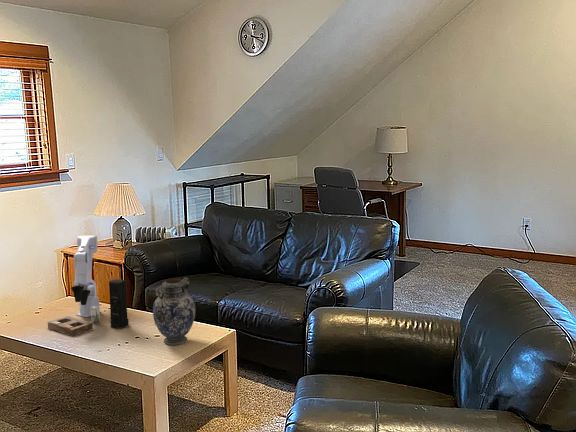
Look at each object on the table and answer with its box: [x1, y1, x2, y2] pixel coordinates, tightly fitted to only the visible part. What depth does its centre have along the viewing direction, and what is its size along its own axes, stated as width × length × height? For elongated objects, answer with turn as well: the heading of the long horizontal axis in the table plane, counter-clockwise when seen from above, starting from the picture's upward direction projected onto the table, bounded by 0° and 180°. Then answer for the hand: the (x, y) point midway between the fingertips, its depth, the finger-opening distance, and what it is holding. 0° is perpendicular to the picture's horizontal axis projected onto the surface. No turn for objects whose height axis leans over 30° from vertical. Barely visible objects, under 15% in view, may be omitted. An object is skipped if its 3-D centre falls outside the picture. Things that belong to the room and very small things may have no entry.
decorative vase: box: [152, 276, 196, 346], centre depth 252 cm, size 21×19×28 cm
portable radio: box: [108, 276, 129, 330], centre depth 273 cm, size 8×6×25 cm
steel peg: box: [90, 306, 101, 325], centre depth 280 cm, size 4×4×8 cm
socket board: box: [47, 315, 94, 337], centre depth 272 cm, size 11×20×3 cm, turn 55°
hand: (80, 303), depth 274 cm, fingers open, 7 cm apart
